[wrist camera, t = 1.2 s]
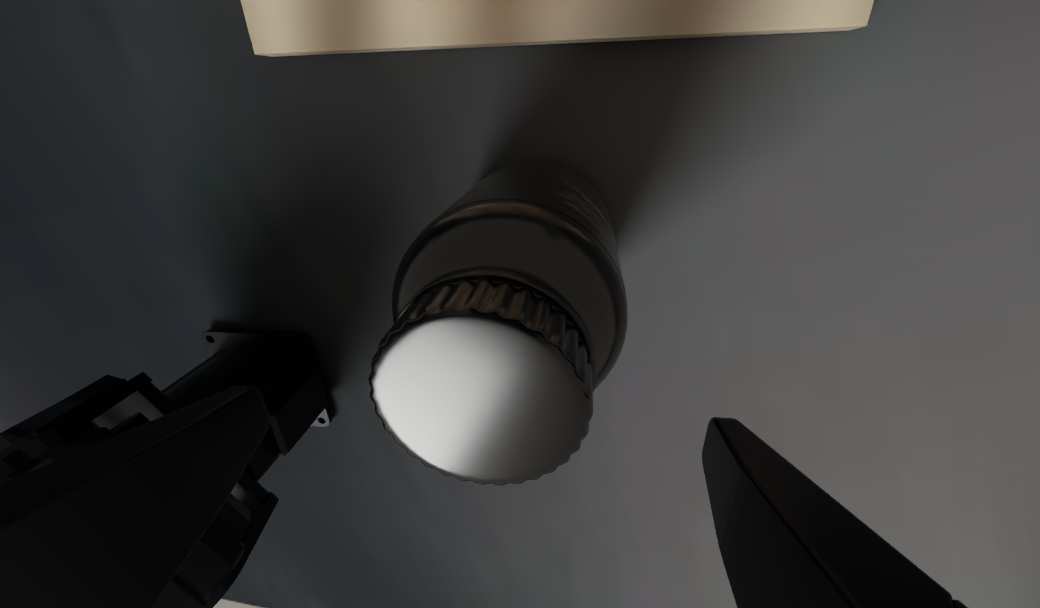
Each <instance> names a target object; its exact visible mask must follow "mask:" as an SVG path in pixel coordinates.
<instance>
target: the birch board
mask: <svg viewBox="0 0 1040 608" xmlns="http://www.w3.org/2000/svg"><path fill="white" fill-rule="evenodd" d="M873 2H874V0H241V4H242V8H243V12H244V15H245V19H246V23H247V27H248V31H249V34H250V38H251V42H252V46H253V50H254V53H255V55H263V56H270V57H277V56H299V55H321V54H343V53H365V52H387V51H409V50H431V49H453V48H475V47H497V46H519V45H542V44H564V43H586V42H608V41H630V40H652V39H674V38H696V37H718V36H740V35H762V34H784V33H807V32H829V31H849V30H853V29H857V28H861V27H865V26H867V23H868V20H869V16H870V13H871V9H872V6H873Z"/></svg>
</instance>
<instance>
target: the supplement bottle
mask: <svg viewBox="0 0 1040 608" xmlns="http://www.w3.org/2000/svg"><path fill="white" fill-rule="evenodd" d="M392 311H393V320H394V325H393V326H392V327H391V329H390V330H389V331H388V332H387V334H386V335H385V336H384V337H383V339H382V340H381V341H380V344H379V346H378V352H377V353H376V354H375V355H374V357H373V359H372V362H371V365H372V372H371V374H370V376H369V383H370V385H371V388H372V390H371V393H370V397H371V399H372V401H373V402H374V404H375V412H376V414H377V415H378V416H379V417H380V418H381V420H382V421H383V426H384V429H385V430H387V431H388V432H389V433H390V434H391V435H392V436H393V438H394V440H395V442H396V443H397V444H398V445H400V446H401V447H403V448H405V450H406V451H407V452H408V454H409V455H410V456H412V457H414V458H416V459H418V460H420V461H421V462H422V463H423V464H424V465H425V466H427V467H430V468H433V469H436V470H437V471H439V472H440V473H442V474H443V475H447V476H453V477H455V478H457V479H459V480H461V481H472V482H475V483H478V484H481V485H483V484H495V485H500V486H501V485H505V484H508V483H512V484H520V483H523V482H524V481H526V480H536V479H538V478H540V477H541V476H542V475H543V474H548V473H552V472H554V471H555V470H556V468H557V467H558V466H559V465H562V464H564V463H566V462H568V460H569V458H570V455H571V454H573V453H575V452H576V451H577V450H579V448H580V444H581V440H582V439H584V438H585V436H586V435H587V434H588V431H589V421H590V419H591V417H592V414H593V392H594V390H595V389H596V388H597V387H598V386H599V385H600V384H601V382H602V381H603V380H604V379H605V378H606V377H607V375H608V374H609V373H610V371H611V370H612V368H613V366H614V365H615V363H616V361H617V359H618V357H619V355H620V353H621V350H622V347H623V344H624V341H625V336H626V331H627V300H626V293H625V287H624V282H623V277H622V272H621V267H620V262H619V256H618V251H617V246H616V241H615V236H614V231H613V226H612V222H611V218H610V215H609V212H608V209H607V206H606V204H605V202H604V200H603V198H602V197H601V195H600V193H599V192H598V190H597V189H596V188H595V187H594V185H593V184H592V183H591V182H590V181H589V180H588V179H587V178H585V177H584V176H583V175H582V174H580V173H579V172H577V171H576V170H574V169H572V168H570V167H568V166H566V165H564V164H561V163H558V162H555V161H550V160H545V159H526V160H520V161H516V162H512V163H509V164H507V165H504V166H502V167H500V168H498V169H496V170H495V171H493V172H491V173H490V174H489V175H487V176H486V177H485V178H483V179H482V180H481V181H480V182H479V183H477V184H476V185H475V186H474V187H473V188H471V189H470V190H469V191H468V192H467V193H466V194H464V195H463V196H462V197H461V198H460V199H459V200H457V201H456V202H455V203H454V204H453V205H452V206H450V207H449V208H448V209H447V210H446V211H445V212H443V213H442V214H441V215H440V216H439V217H438V218H436V219H435V220H434V221H433V222H432V223H431V224H430V225H428V226H427V227H426V228H425V229H424V230H423V231H422V232H421V234H420V235H419V236H418V237H417V238H416V239H415V240H414V242H413V243H412V244H411V245H410V247H409V248H408V250H407V251H406V253H405V255H404V257H403V259H402V261H401V263H400V265H399V268H398V271H397V273H396V277H395V281H394V285H393V294H392Z"/></svg>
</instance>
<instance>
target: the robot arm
mask: <svg viewBox="0 0 1040 608" xmlns="http://www.w3.org/2000/svg"><path fill="white" fill-rule="evenodd" d="M202 339H203V342H204V344H205V346H206V349H207V351H208V354H209V356H210V358H208V359H207V360H206V361H204V362H203V363H201V364H200V365H198V366H197V367H196V368H194V369H193V370H191V371H190V372H188V373H187V374H185V375H184V376H183V377H181V378H180V379H178V380H177V381H175V382H174V383H172V384H171V385H170V386H168V387H167V388H165V389H164V390H162V391H160V390H159V389H158V388H157V387H156V386H155V385H153V384H152V383H151V381H152V379H151V378H150V377H149V376H147V375H146V374H145V373H144V372H142V373H140V374H139V375H137V376H135V377H134V378H132V379H130V380H129V381H127V380H126V379H120V378H117V377H113V376H110V375H106V376H104V377H102V378H100V379H99V380H97V381H95V382H94V383H92V384H90V385H88V386H87V387H85V388H83V389H82V390H80V391H78V392H76V393H75V394H73V395H71V396H69V397H67V398H66V399H64V400H62V401H60V402H58V403H56V404H54V405H53V406H51V407H49V408H47V409H45V410H43V411H41V412H39V413H37V414H36V415H34V416H32V417H30V418H28V419H26V420H24V421H22V422H20V423H18V424H17V425H15V426H13V427H11V428H9V429H7V430H5V431H4V432H2V433H0V608H213V607H214V606H215V605H216V604H217V602H218V601H219V600H220V599H221V598H222V597H223V595H224V594H225V593H226V592H227V591H228V589H229V588H230V586H231V585H232V584H233V582H234V581H235V580H236V578H237V576H238V575H239V573H240V571H241V570H242V568H243V566H244V564H245V562H246V560H247V559H248V557H249V555H250V553H251V551H252V549H253V547H254V545H255V544H256V542H257V540H258V538H259V536H260V534H261V532H262V530H263V529H264V527H265V525H266V523H267V521H268V519H269V517H270V515H271V513H272V512H273V510H274V508H275V506H276V504H277V502H278V500H279V499H278V498H277V497H276V496H275V495H274V494H273V493H272V492H268V491H267V490H266V489H265V488H263V487H262V486H261V485H260V484H259V483H258V480H259V479H260V478H261V477H262V476H263V475H264V473H265V472H266V471H267V470H268V469H269V467H270V466H271V465H272V464H273V463H274V462H275V460H276V459H277V458H278V457H279V456H280V455H286V454H287V453H288V452H289V451H290V450H291V449H292V448H293V446H294V445H295V444H296V443H297V442H298V440H299V439H300V438H301V437H302V436H303V434H304V433H305V432H306V431H307V430H308V428H309V427H310V426H318V427H327V426H328V425H329V424H330V423H331V421H332V420H333V416H332V413H331V409H330V406H329V402H328V399H327V395H326V392H325V388H324V385H323V381H322V378H321V374H320V371H319V367H318V364H317V360H316V357H315V353H314V350H313V346H312V343H311V340H310V338H309V337H308V336H307V335H306V334H304V333H298V332H277V331H257V330H237V329H216V328H211V329H209V330H207V331H205V332H204V333H203V334H202ZM299 341H301V342H302V344H301V343H300V342H299ZM702 462H703V468H704V473H705V478H706V484H707V489H708V494H709V499H710V504H711V509H712V514H713V520H714V525H715V530H716V535H717V539H718V544H719V548H720V552H721V556H722V559H723V563H724V566H725V569H726V572H727V576H728V579H729V582H730V585H731V588H732V592H733V595H734V598H735V601H736V605H737V608H968V607H966V606H965V605H964V604H963V603H961V602H960V601H959V600H952V596H951V594H950V593H949V592H948V591H946V590H945V589H944V588H943V587H942V586H940V585H939V584H938V583H937V582H935V581H934V580H933V579H932V578H931V577H929V576H928V575H927V574H926V573H924V572H923V571H922V570H921V569H919V568H918V567H917V566H916V565H915V564H913V563H912V562H911V561H910V560H908V559H907V558H906V557H905V556H904V555H902V554H901V553H900V552H899V551H897V550H896V549H895V548H894V547H893V546H891V545H890V544H889V543H888V542H886V541H885V540H884V539H883V538H882V537H880V536H879V535H878V534H877V533H875V532H874V531H873V530H872V529H870V528H869V527H868V526H867V525H866V524H864V523H863V522H862V521H861V520H859V519H858V518H857V517H856V516H855V515H853V514H852V513H851V512H850V511H848V510H847V509H846V508H845V507H844V506H842V505H841V504H840V503H839V502H837V501H836V500H835V499H834V498H832V497H831V496H830V495H829V494H828V493H826V492H825V491H824V490H823V489H821V488H820V487H819V486H818V485H817V484H815V483H814V482H813V481H812V480H810V479H809V478H808V477H807V476H806V475H804V474H803V473H802V472H801V471H799V470H798V469H797V468H796V467H794V466H793V465H792V464H791V463H790V462H788V461H787V460H786V459H785V458H783V457H782V456H781V455H780V454H779V453H777V452H776V451H775V450H774V449H772V448H771V447H770V446H769V445H768V444H766V443H765V442H764V441H763V440H761V439H760V438H759V437H758V436H756V435H755V434H754V433H753V432H752V431H750V430H749V429H748V428H747V427H745V426H744V425H743V424H742V423H741V422H739V421H738V420H736V419H733V418H720V417H714V418H712V419H711V420H710V421H709V424H708V428H707V433H706V437H705V442H704V446H703V451H702Z"/></svg>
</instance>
